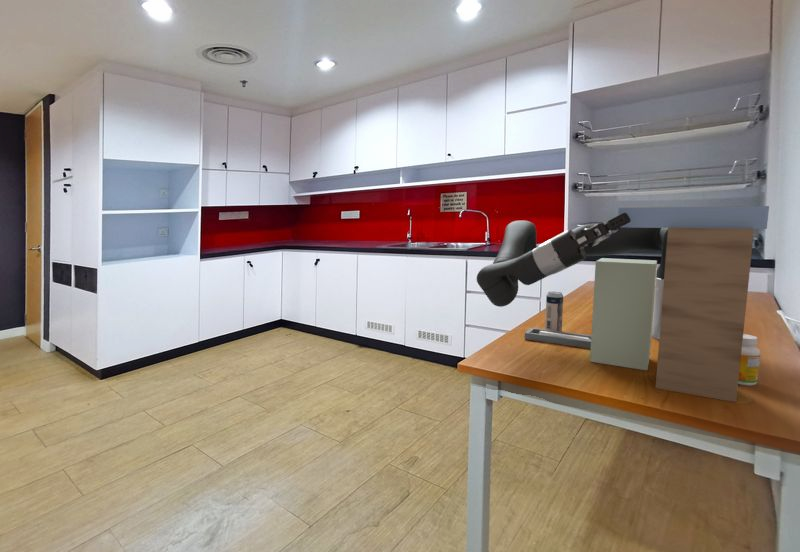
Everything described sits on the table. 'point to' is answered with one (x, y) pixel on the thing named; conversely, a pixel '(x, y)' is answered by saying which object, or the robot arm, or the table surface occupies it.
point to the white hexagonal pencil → (563, 335)
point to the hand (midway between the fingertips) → (630, 216)
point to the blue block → (698, 217)
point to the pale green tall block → (623, 312)
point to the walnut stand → (704, 311)
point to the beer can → (554, 311)
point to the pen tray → (558, 338)
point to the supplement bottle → (749, 361)
